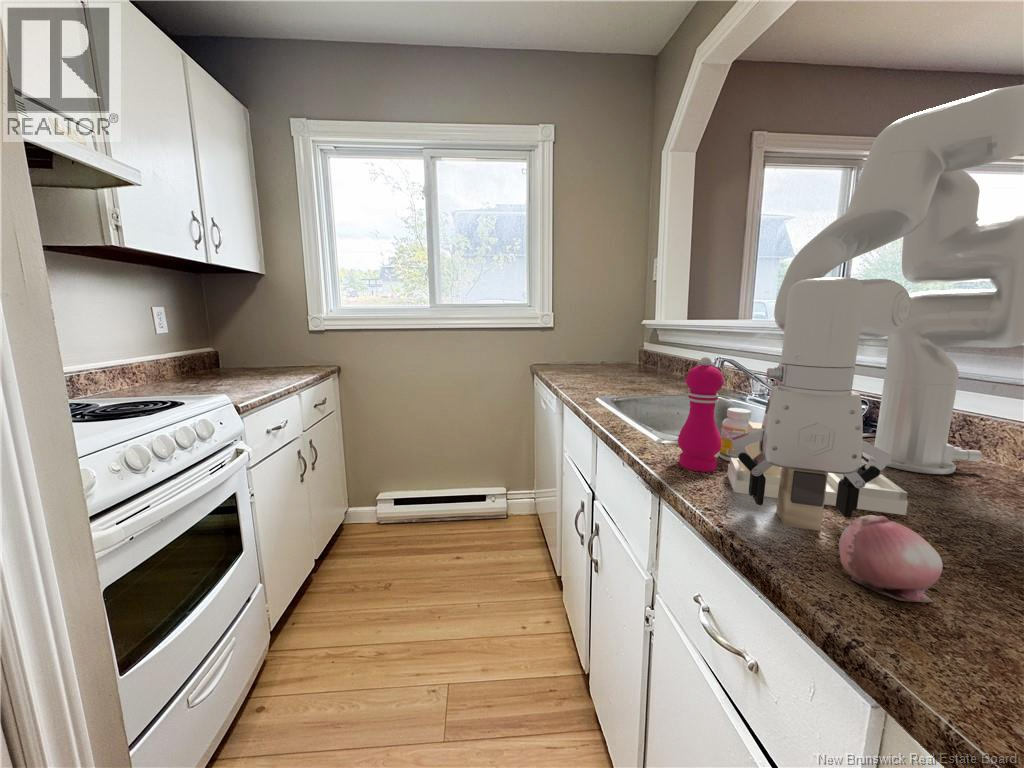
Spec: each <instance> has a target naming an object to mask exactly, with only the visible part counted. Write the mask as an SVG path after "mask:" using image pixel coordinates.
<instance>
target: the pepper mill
mask: <svg viewBox="0 0 1024 768" xmlns="http://www.w3.org/2000/svg"><path fill="white" fill-rule="evenodd" d="M699 362H700V365H696V366H693V367H692V368H690V369H689V370H688V372H687V374H686V378H685V385H687V387H688V389H689V390H690V391H688V392H687V395H688V396H687V400H688V401H689V411H688V412H689V413H688V415H687V416H688V417H687V419H686V421H685V423H683V426H682V428H681V429H680V431H679V434H678V438H677V444H678V445H677V446H678V447H679V448H680V449H681V451H682V452H680V453H679V461H678V463H679V465H680V467H682V468H685V469H687V470H690V471H694V472H699V473H702V472H704V473H706V472H713V471H715V470H716V469H717V467H718V466H717V465H718V459H717V457H716V455H717V454H718V453H719V451H720V450H721V447H722V445H721V433H720V431H719V429H718V426H717V423H716V420H715V406H716V404H717V403H718V402H719V398H718V397H719V396H720V395H719V393H718V392H719V391H720V390H721V389H722V387H723V386H724V376H723V373H722V372H721V370H719V369H718V368H716V367H715V366H712V365H711V364H712V360H711V357H709V356H703V357H702V358H701V359H700V360H699Z"/></svg>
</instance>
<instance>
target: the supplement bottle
mask: <svg viewBox="0 0 1024 768" xmlns="http://www.w3.org/2000/svg"><path fill="white" fill-rule="evenodd" d="M726 417H727V418H724V420H723V421H722V422H721V430H720V432H721V433H720V437H721V445H722V447H721V450H720V451H719V452H718V453H719V458H721V459H723V461H727V462H730V458H738V456H737V454H736V452H735V450H734V448H733V445H732V443H731V439H732V438H733V437H736V436H739V435H742V434H745V433H747V428H748V422H751V421H750V419H751V418H752V411H751V410H750V409H746V408H741V407H729V408H727V410H726ZM745 448H746V447H745Z"/></svg>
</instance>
